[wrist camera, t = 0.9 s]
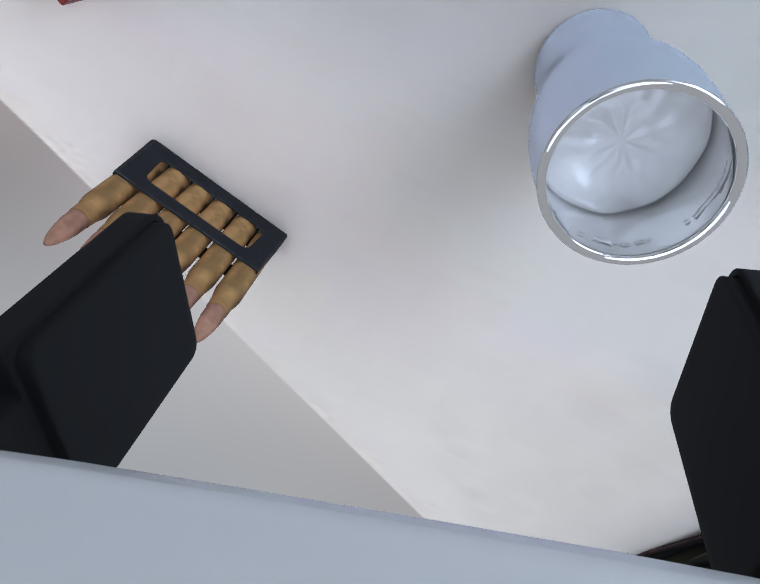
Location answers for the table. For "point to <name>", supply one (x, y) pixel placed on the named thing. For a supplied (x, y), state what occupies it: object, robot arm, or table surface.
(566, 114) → the beer glass
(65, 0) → the pencil case
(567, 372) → the table surface
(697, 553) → the diary
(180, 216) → the ammunition clip
